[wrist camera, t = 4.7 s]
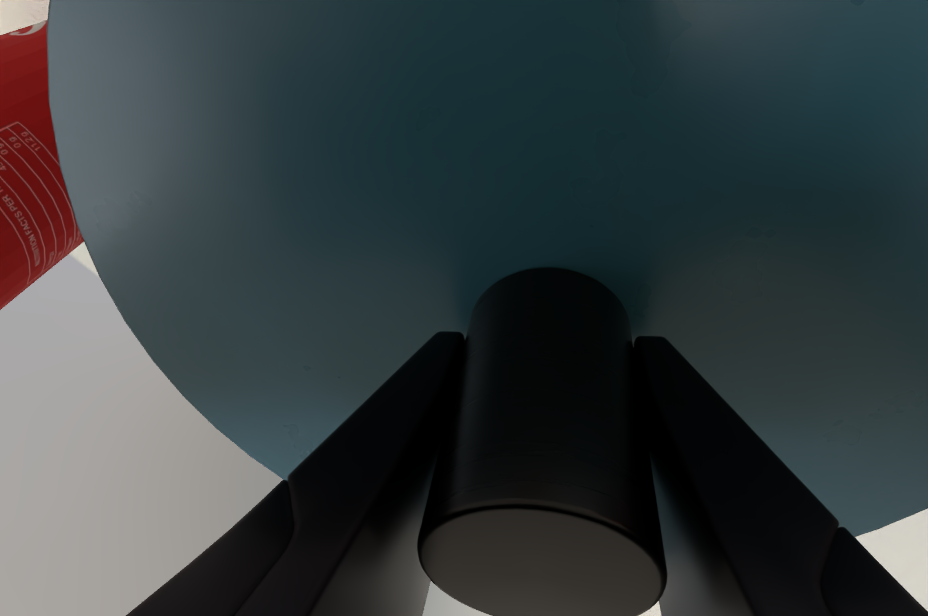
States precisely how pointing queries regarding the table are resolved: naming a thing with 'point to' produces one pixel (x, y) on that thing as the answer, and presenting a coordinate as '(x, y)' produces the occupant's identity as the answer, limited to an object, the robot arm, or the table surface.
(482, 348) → the pot lid
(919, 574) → the table surface
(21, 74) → the beverage can
